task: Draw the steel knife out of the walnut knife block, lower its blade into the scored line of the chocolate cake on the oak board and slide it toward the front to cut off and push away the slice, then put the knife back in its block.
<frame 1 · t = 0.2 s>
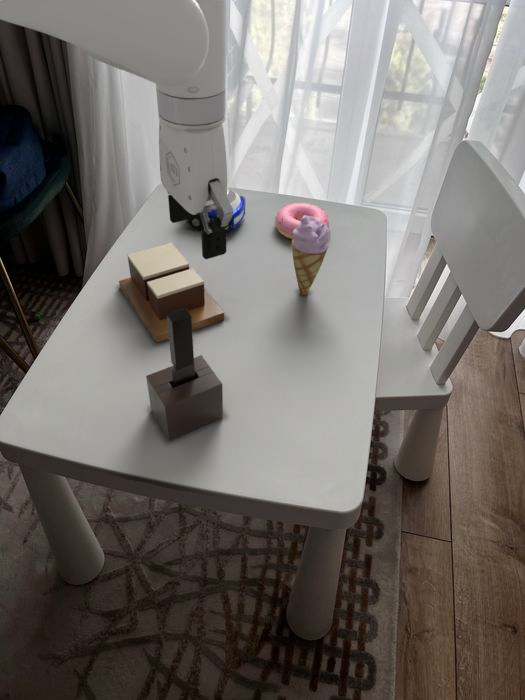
hand: (197, 237, 71), 19 cm above the table, tool pointing down, fingers open, 9 cm apart
knife block: (186, 413, 74), on the table
cake slice: (177, 305, 88), point 1 cm above the table, touching cutting board
toy car: (215, 222, 110), on the table
ice cream cone: (303, 292, 95), on the table
doughnut: (301, 231, 109), on the table
knife: (183, 369, 67), in the knife block
cake: (160, 283, 92), point 1 cm above the table, touching cutting board
cutting board: (170, 303, 90), on the table
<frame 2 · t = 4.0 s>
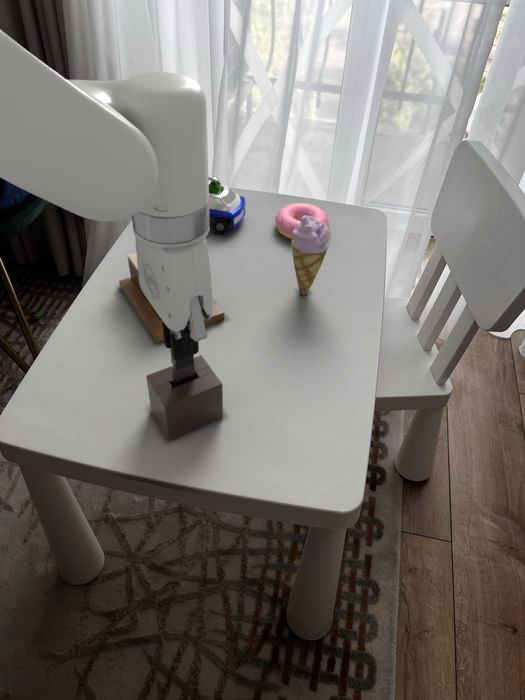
hand: (181, 348, 65), 13 cm above the table, tool pointing down, fingers closed on knife, 1 cm apart
knife: (183, 369, 67), in the knife block, touching gripper
everything else where it was.
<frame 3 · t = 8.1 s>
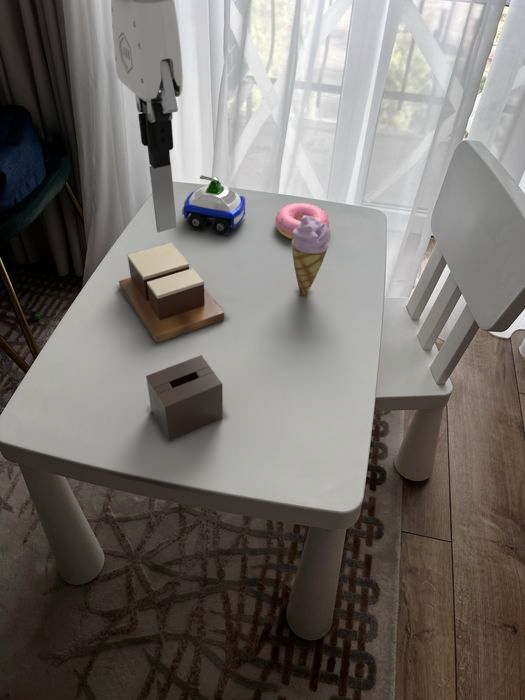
hand: (157, 146, 69), 28 cm above the table, tool pointing down, fingers closed on knife
knife: (160, 171, 72), point 24 cm above the table, touching gripper
everything else where it was.
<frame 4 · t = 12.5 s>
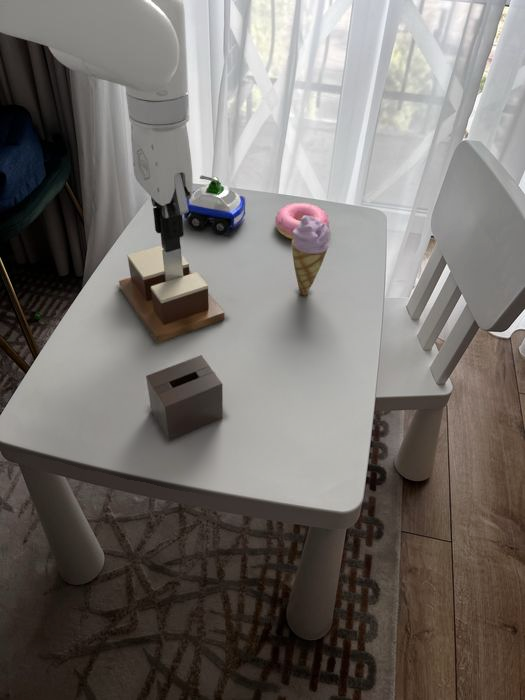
hand: (169, 233, 79), 15 cm above the table, tool pointing down, fingers closed on knife
cake slice: (181, 310, 87), point 2 cm above the table, touching knife
knife: (172, 253, 81), point 11 cm above the table, touching cake slice, gripper
everything else where it was.
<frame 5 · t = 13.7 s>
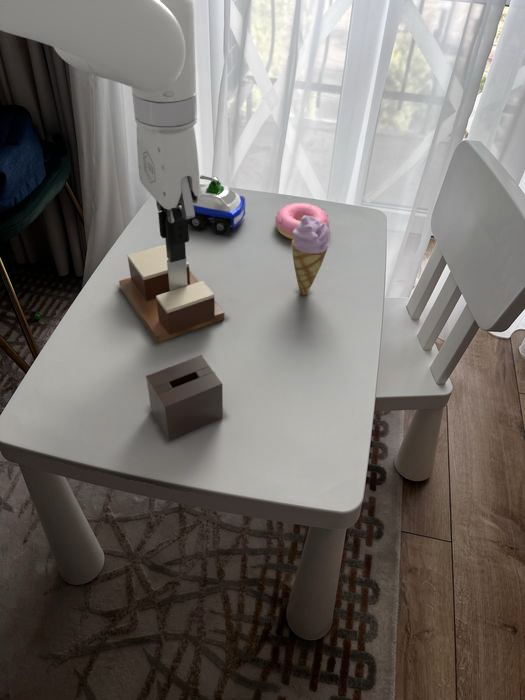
hand: (174, 238, 77), 15 cm above the table, tool pointing down, fingers closed on knife, 1 cm apart
cake slice: (186, 319, 85), point 1 cm above the table, touching cutting board
knife: (176, 263, 80), point 11 cm above the table, touching gripper
everything else where it was.
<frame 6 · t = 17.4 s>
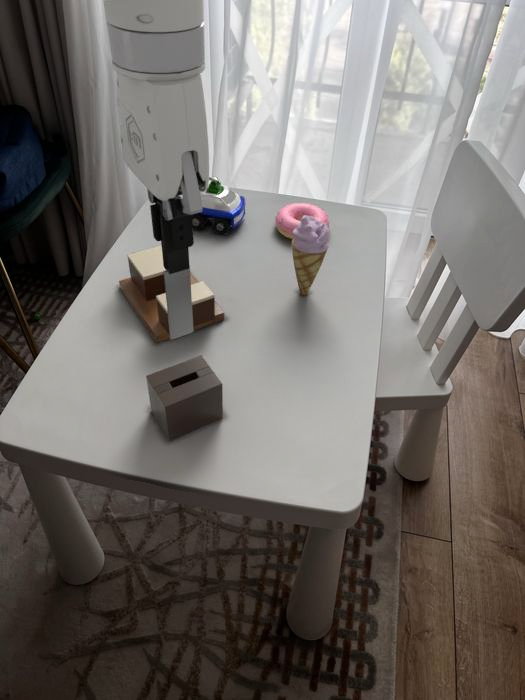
hand: (173, 241, 56), 27 cm above the table, tool pointing down, fingers closed on knife
knife: (177, 275, 59), point 23 cm above the table, touching gripper
everything else where it was.
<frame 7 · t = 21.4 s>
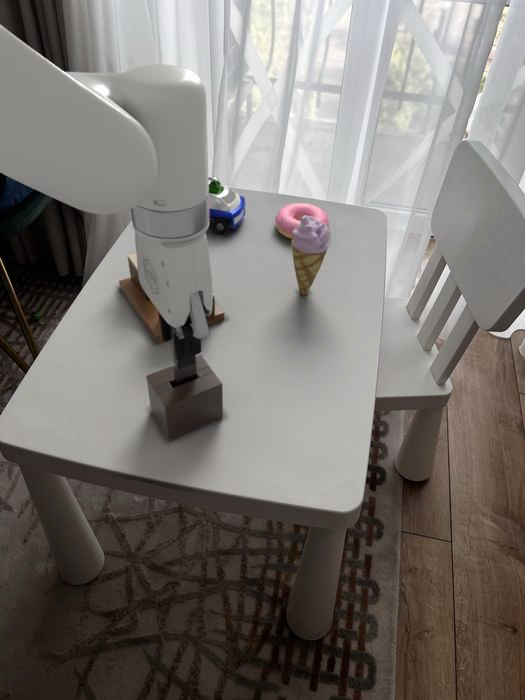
hand: (181, 344, 64), 13 cm above the table, tool pointing down, fingers open, 3 cm apart
knife: (185, 368, 67), in the knife block
everything else where it was.
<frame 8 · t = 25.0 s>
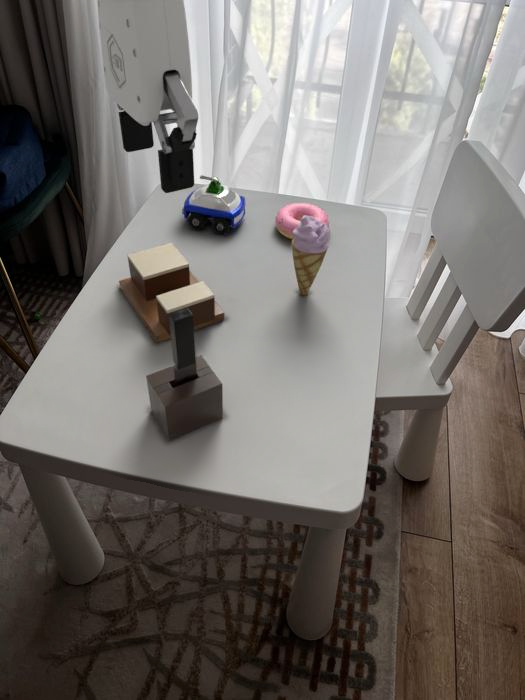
hand: (157, 167, 54), 33 cm above the table, tool pointing down, fingers open, 9 cm apart
nothing on the table moved.
at the end: cake slice moved 3.9 cm from its start; cake moved 0.0 cm from its start; knife 0.3 cm off-centre on the knife block, point 9.0 cm above the knife block's base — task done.
